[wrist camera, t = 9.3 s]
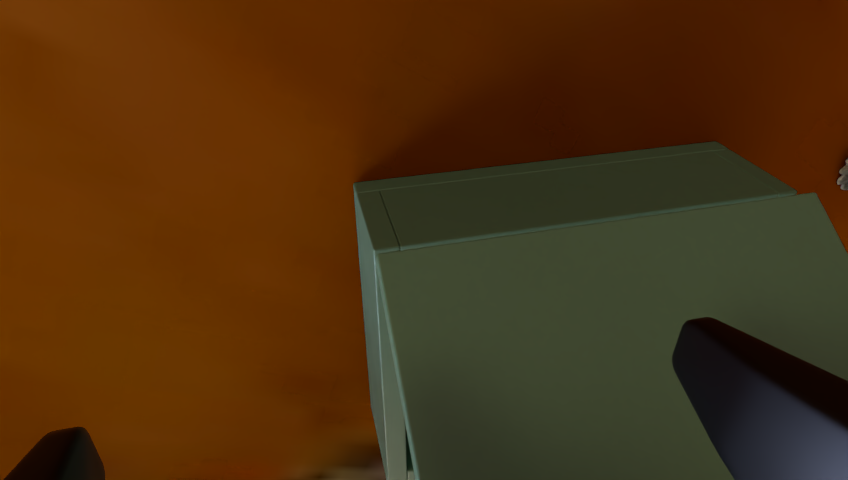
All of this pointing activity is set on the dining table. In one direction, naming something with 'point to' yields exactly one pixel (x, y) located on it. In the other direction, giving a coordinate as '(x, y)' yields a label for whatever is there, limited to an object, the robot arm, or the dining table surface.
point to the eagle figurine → (843, 176)
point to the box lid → (599, 336)
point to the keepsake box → (524, 226)
